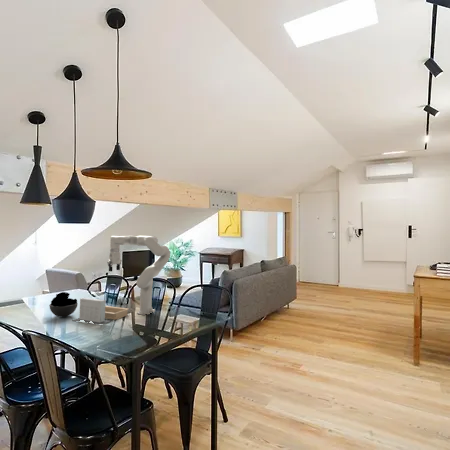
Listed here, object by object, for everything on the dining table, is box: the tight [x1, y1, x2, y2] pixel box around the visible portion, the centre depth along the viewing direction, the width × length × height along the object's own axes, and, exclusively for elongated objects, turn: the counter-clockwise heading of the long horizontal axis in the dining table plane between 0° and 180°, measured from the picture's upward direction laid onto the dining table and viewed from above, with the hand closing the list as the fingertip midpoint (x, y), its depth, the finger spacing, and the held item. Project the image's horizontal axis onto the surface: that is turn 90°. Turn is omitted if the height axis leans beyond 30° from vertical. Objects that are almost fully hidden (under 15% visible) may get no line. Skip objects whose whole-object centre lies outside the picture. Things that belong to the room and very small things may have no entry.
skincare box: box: [78, 297, 107, 323], centre depth 253 cm, size 21×6×16 cm, turn 67°
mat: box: [72, 317, 112, 325], centre depth 253 cm, size 27×11×1 cm, turn 69°
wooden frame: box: [105, 305, 129, 321], centre depth 270 cm, size 27×19×5 cm
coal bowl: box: [49, 291, 79, 318], centre depth 264 cm, size 20×20×19 cm
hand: (114, 270), depth 285 cm, fingers open, 9 cm apart
